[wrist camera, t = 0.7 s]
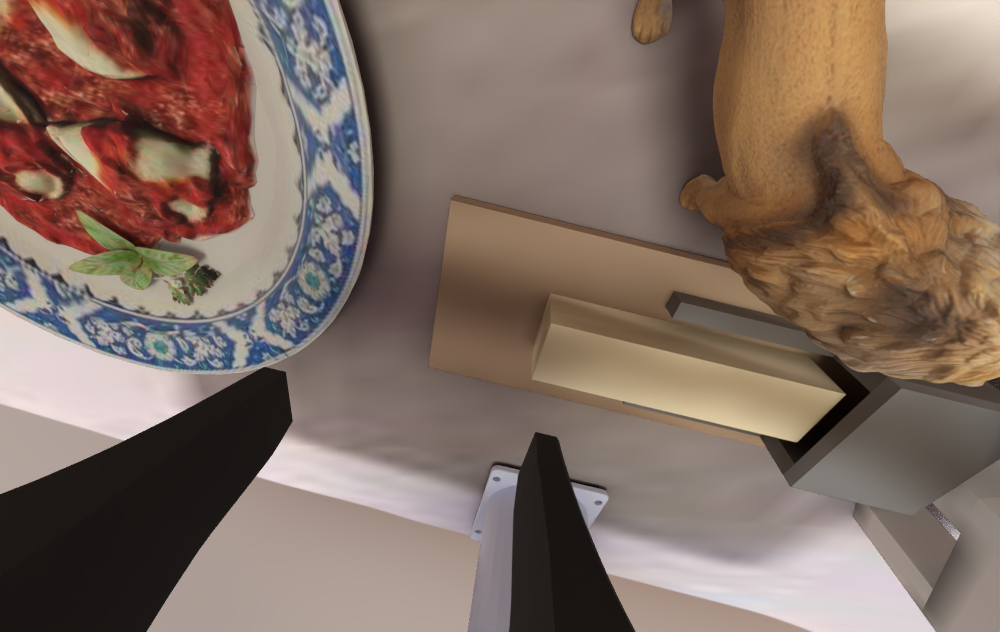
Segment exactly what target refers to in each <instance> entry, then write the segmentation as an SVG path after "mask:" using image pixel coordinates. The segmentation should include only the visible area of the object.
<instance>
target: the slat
mask: <svg viewBox="0 0 1000 632" xmlns="http://www.w3.org/2000/svg"><path fill="white" fill-rule="evenodd" d="M532 380H537V381H541V382H545V383H549V384H553V385H558V386H562V387H566V388H570V389H574V390H578V391H583V392H587V393H591V394H595V395H599V396H604V397H608V398H612V399H616V400H620V401H625V402H629V403H633V404H637V405H641V406H646V407H650V408H654V409H658V410H662V411H667V412H671V413H675V414H679V415H683V416H688V417H692V418H696V419H700V420H704V421H709V422H713V423H717V424H721V425H725V426H730V427H734V428H738V429H742V430H746V431H751V432H755V433H759V434H763V435H767V436H772V437H776V438H780V439H784V440H788V441H793V442H798V441H799V440H800V439H801V438H802V437H803V436H804V435H805V434H806V433H807V432H808V431H809V430H810V429H811V428H812V427H813V426H814V425H815V424H816V423H817V422H818V421H819V420H820V419H822V418H823V417H824V416H825V415H826V414H827V413H828V412H829V411H830V410H831V409H832V408H833V407H834V406H835V405H836V404H837V403H838V402H839V401H840V400H841V399H842V398H843V397H844V396H845V395H846V394H845V393H844V392H843V391H842V390H841V389H840V388H839V387H838V386H837V385H836V384H835V383H834V382H833V381H832V380H831V379H830V378H829V377H828V376H827V375H826V374H825V373H824V372H823V371H822V370H821V369H820V368H819V367H818V366H817V365H816V364H815V363H814V362H813V361H812V360H811V359H810V358H809V357H808V355H803V354H799V353H795V352H791V351H787V350H783V349H779V348H775V347H770V346H766V345H762V344H758V343H754V342H750V341H746V340H742V339H737V338H733V337H729V336H725V335H721V334H717V333H713V332H709V331H705V330H700V329H696V328H692V327H688V326H684V325H680V324H676V323H672V322H667V321H663V320H659V319H655V318H651V317H647V316H643V315H639V314H634V313H630V312H626V311H622V310H618V309H614V308H610V307H606V306H601V305H597V304H593V303H589V302H585V301H581V300H577V299H573V298H568V297H564V296H560V295H556V294H552V293H551V294H550V297H549V300H548V303H547V306H546V309H545V312H544V315H543V318H542V321H541V324H540V327H539V330H538V333H537V336H536V339H535V342H534V345H533V363H532Z"/></svg>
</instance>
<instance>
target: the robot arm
mask: <svg viewBox="0 0 1000 632" xmlns="http://www.w3.org/2000/svg"><path fill="white" fill-rule="evenodd" d="M292 421H293V420H292V413H291V406H290V399H289V392H288V384H287V377H286V372H284V371H279V370H275V369H271V368H267V367H263V368H261V369H260V370H258V371H256V372H254V373H252V374H250V375H248V376H246V377H245V378H243V379H241V380H239V381H237V382H236V383H234V384H232V385H230V386H228V387H227V388H225V389H223V390H221V391H219V392H218V393H216V394H214V395H212V396H210V397H208V398H207V399H205V400H203V401H201V402H199V403H197V404H195V405H194V406H192V407H190V408H188V409H186V410H184V411H182V412H181V413H179V414H177V415H175V416H173V417H171V418H169V419H167V420H165V421H163V422H161V423H159V424H157V425H155V426H153V427H151V428H149V429H147V430H145V431H143V432H141V433H139V434H137V435H135V436H133V437H131V438H129V439H127V440H125V441H123V442H121V443H119V444H117V445H115V446H113V447H111V448H109V449H106V450H104V451H102V452H100V453H98V454H95V455H93V456H91V457H89V458H87V459H84V460H82V461H80V462H78V463H75V464H73V465H71V466H68V467H66V468H64V469H61V470H59V471H57V472H54V473H52V474H50V475H48V476H45V477H43V478H40V479H38V480H36V481H33V482H31V483H28V484H26V485H23V486H20V487H18V488H15V489H13V490H10V491H8V492H5V493H3V494H0V632H146V631H147V630H148V628H149V627H150V625H151V623H152V622H153V620H154V619H155V617H156V616H157V614H158V612H159V611H160V609H161V607H162V606H163V604H164V603H165V601H166V599H167V598H168V596H169V595H170V593H171V592H172V590H173V589H174V587H175V586H176V584H177V583H178V581H179V579H180V578H181V576H182V575H183V573H184V572H185V570H186V569H187V567H188V566H189V564H190V563H191V561H192V560H193V558H194V557H195V555H196V554H197V552H198V551H199V549H200V548H201V546H202V545H203V544H204V542H205V541H206V540H207V538H208V537H209V536H210V534H211V533H212V532H213V530H214V529H215V527H217V525H218V524H219V523H220V521H221V520H222V519H223V518H224V516H225V515H226V514H227V512H228V511H229V510H230V509H231V507H232V506H233V505H234V504H235V502H236V501H237V500H238V498H239V497H240V496H241V494H242V493H243V492H244V491H245V489H246V488H247V487H248V486H249V484H250V483H251V482H252V480H253V479H254V478H255V477H256V475H257V474H258V473H259V471H260V470H261V469H262V468H263V466H264V465H265V464H266V462H267V461H268V460H269V458H270V457H271V456H272V454H273V453H274V451H275V450H276V448H277V446H278V445H279V443H280V442H281V440H282V438H283V437H284V435H285V433H286V431H287V430H288V428H289V426H290V425H291V423H292ZM607 501H608V493H607V491H605V490H603V489H599V488H594V487H590V486H586V485H582V484H577V483H573V482H571V481H570V478H569V475H568V472H567V468H566V465H565V462H564V458H563V455H562V451H561V447H560V443H559V440H558V439H557V437H554V436H550V435H546V434H542V433H537V432H535V434H534V437H533V439H532V442H531V444H530V447H529V449H528V452H527V454H526V457H525V459H524V461H523V464H522V466H521V469H520V470H517V469H513V468H509V467H505V466H500V465H496V466H493V467H492V468H491V472H490V475H489V478H488V481H487V484H486V487H485V490H484V493H483V496H482V499H481V502H480V505H479V508H478V511H477V514H476V517H475V521H474V524H473V527H472V530H471V533H470V538H471V539H472V540H474V541H477V542H481V544H480V551H479V558H478V565H477V571H476V579H475V585H474V591H473V598H472V605H471V612H470V619H469V625H468V632H635V630H634V628H633V626H632V624H631V622H630V620H629V618H628V616H627V614H626V613H625V611H624V608H623V606H622V605H621V602H620V601H619V598H618V596H617V594H616V592H615V590H614V588H613V586H612V584H611V582H610V580H609V577H608V575H607V573H606V571H605V568H604V566H603V564H602V562H601V559H600V557H599V555H598V552H597V550H596V548H595V545H594V543H593V541H592V538H591V536H590V533H589V528H590V526H591V525H592V523H593V522H594V520H595V519H596V517H597V516H598V514H599V513H600V511H601V510H602V508H603V507H604V505H605V504H606V502H607Z"/></svg>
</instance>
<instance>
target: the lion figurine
mask: <svg viewBox="0 0 1000 632" xmlns="http://www.w3.org/2000/svg"><path fill="white" fill-rule="evenodd" d="M723 2H724V4H725V25H724V34H723V40H722V45H721V50H720V54H719V60H718V66H717V71H716V76H715V82H714V89H713V118H714V127H715V134H716V139H717V143H718V148H719V152H720V157H721V161H722V166H723V171H724V174H725V176H724V177H722V178H721V179H720V180H719V181H718V182H716V181H715V180H714V179H713V178H712V177H711V176H709V175H706V174H702V175H700V176H698V177H697V178H695V179H692V180H691V181H689V182H688V183H687V184H686V186H685V187H684V188H683V190H682V192H681V194H680V197H679V200H680V204H681V206H683V207H684V208H686V209H688V210H689V211H701V212H702V214H703V216H704V217H705V218H706V219H707V220H708V221H709V222H710V223H712V224H714V225H716V226H719V227H722V228H723V230H724V233H723V235H722V239H723V242H724V246H725V252H726V255H727V257H728V265H729V267H730V269H731V270H733V271H734V272H736V273H738V274H739V275H740V276H741V277H742V279H743V283H744V285H745V286H746V287H747V289H748V290H749V291H751V292H752V293H753V294H754V295H756V296H757V297H758V299H760V300H761V301H762V302H764V303H765V304H767V305H768V306H769V307H770V308H771V309H772V310H773V312H774V313H775V314H777V315H778V316H780V317H782V318H784V319H786V320H788V321H790V322H792V323H793V324H795V325H797V326H799V327H801V328H802V329H803V330H804V332H805V333H806V335H807V337H808V338H809V340H811V341H812V342H813V343H815V344H816V345H818V346H820V347H821V348H824V349H826V350H828V351H830V352H832V353H834V354H835V355H837V356H838V357H839V359H840V360H841V361H842V362H843V363H844V364H845V365H846V366H848V367H849V368H851V369H853V370H855V371H858V372H880V373H882V374H884V375H887V376H891V377H894V378H899V379H919V380H924V381H928V382H931V383H947V382H954V383H956V384H959V385H965V386H971V387H976V386H981V385H983V384H984V382H985V381H987V380H991V379H994V378H998V377H1000V225H997V224H995V223H994V222H992V221H991V220H989V219H988V218H987V216H986V215H984V214H982V213H981V212H980V211H979V209H978V208H977V207H976V206H974V205H973V204H970V203H968V202H965V201H962V200H958V199H954V198H950V197H949V196H948V195H946V194H945V193H944V192H943V190H942V189H941V188H940V187H939V186H937V185H936V184H935V183H934V182H932V181H930V180H928V179H926V178H923V177H922V176H920V175H919V174H916V173H915V172H912V171H910V170H908V169H905V168H904V166H903V164H902V162H901V159H900V158H899V156H898V155H897V154H896V152H895V151H894V150H893V148H892V147H891V146H890V144H889V143H887V142H886V141H884V140H883V132H882V110H883V103H884V95H885V84H886V68H887V50H888V42H887V35H886V27H885V0H723ZM671 21H672V0H639V2H638V5H637V8H636V10H635V14H634V18H633V24H632V30H633V36H634V37H635V38H636V39H637V40H638V41H639V42H640V43H642V44H648V43H651V42H654V41H656V40H658V39H659V38H661V37H662V36H664V35H665V34H666V33H667V32H668V31H669V28H670V25H671Z"/></svg>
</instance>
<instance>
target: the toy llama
mask: <svg viewBox="0 0 1000 632" xmlns="http://www.w3.org/2000/svg"><path fill="white" fill-rule="evenodd" d="M932 503H933V504H934V505H935V506H936V508H937V509H938V510H939V511H940V512H941V513H942V514H943V515H944V516H945V517H946V518H947V519H948V520H949V521H950V522H951V524H952V525H953V526H954V527H955V528H956V529H957V530H958V531H959V532H960V533H961V534H960V536H959V538H958V540H957V541H956V540H955V538H954V537H953V536H952V535H951V534H950V533H949V532H948V531H947V530H946V529H945V528H944V526H943V525H942V524H941V523H940V522H939V521H938V520H937V519H936V518H935V517H934V515H933V514H932V513H931V512H930V511H929V510H928V509H927V508H926V507H925V508H923V509H922V510H920V511H919V512H917V513H915V514H914V515H912V516H911V515H906V514H902V513H898V512H894V511H890V510H885V509H881V508H877V507H873V506H868V505H864V504H860V503H856V505H855V509H854V514H853V517H854V519H855V520H856V521H857V523H858V524H859V526H860V527H861V528H862V530H863V531H864V533H865V534H866V535H867V537H868V538H869V539H870V541H871V542H872V544H873V545H874V546H875V548H876V549H877V551H878V552H879V553H880V555H881V556H882V557H883V559H884V560H885V562H886V563H887V564H888V566H889V567H890V569H891V570H892V571H893V573H894V574H895V575H896V577H897V578H898V580H899V581H900V582H901V584H902V585H903V587H904V588H905V589H906V591H907V592H908V593H909V595H910V596H911V598H912V599H913V600H914V602H915V603H916V605H917V606H918V607H919V609H920V610H921V612H922V613H923V614H924V616H925V617H926V618H927V620H928V621H929V623H930V624H931V625H932V627H933V628H934V630H935V631H936V632H1000V459H999V460H998V461H996V462H995V463H993V464H992V465H990V466H988V467H987V468H985V469H984V470H982V471H981V472H979V473H978V474H976V475H974V476H973V477H971V478H970V479H968V480H967V481H965V482H964V483H962V484H960V485H959V486H957V487H956V488H954V489H953V490H951V491H950V492H948V493H946V494H945V495H943V496H942V497H940V498H939V499H937V500H936V501H934V502H932Z"/></svg>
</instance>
